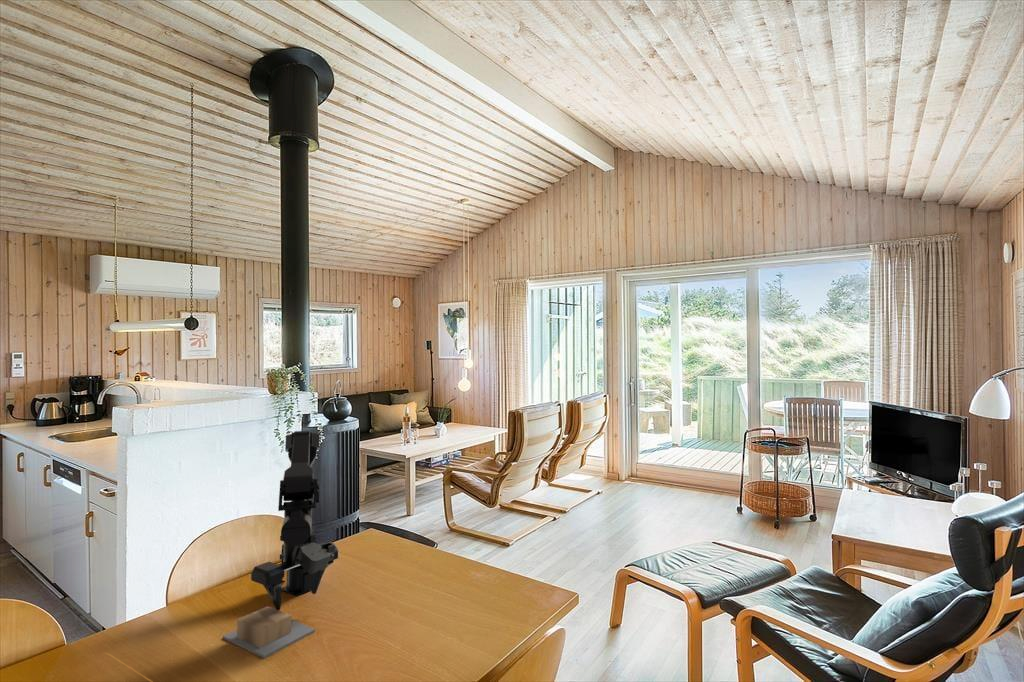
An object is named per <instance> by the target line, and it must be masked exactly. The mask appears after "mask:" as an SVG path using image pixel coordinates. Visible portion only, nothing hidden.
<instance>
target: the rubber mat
mask: <svg viewBox="0 0 1024 682" xmlns="http://www.w3.org/2000/svg"><path fill="white" fill-rule="evenodd" d="M315 632H316V628H313V627H310V626H308V625H306V624H303V623H301V622H298V621H296V620H294V619H291V632H290V633H289V634H287V635H286V636H284V637H282V638H280V639H278V640H276V641H274V642H272V643H270V644H268V645H266V646H264V647H262V648H260V647H258V646H255V645H253V644H251V643H249V642H247V641H245V640H243V639H241V638H238V637H237V629H235V630H233V631H231V632H228V633H226V634H224V635H222V639H224V640H225V641H227V642H229V643H232V644H233V645H236V646H238V647H239V648H242V649H244V650H246V651H248V652H250V653H252V654H254V655H256V656H258V657H260V658H262V659H266V658H268V657H270V656H272V655H274V654H275V653H277V652H279V651H281V650H283V649H285V648H286V647H289V646H290V645H292V644H294V643H296V642H298V641H300V640H302V639H304V638H306V637H308V636H309V635H312V634H314V633H315Z"/></svg>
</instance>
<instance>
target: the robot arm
mask: <svg viewBox="0 0 1024 682" xmlns="http://www.w3.org/2000/svg"><path fill="white" fill-rule="evenodd" d="M320 439H321V437H320V434H318V433H314V432H313V431H310V430H295V431H293V432H291V434H287V435H286V436H285V445H284V447H285V448H284V451H285V453H288V454H287V456H288V459H289V462H290V466H289V467H288V468H286V469H285V470H284V474H283V479H281V480H279V481H280V482H279V492H278V493H279V495H278V512H280V511H281V512H283V511H284V513H283V514H284V515H283V516H284V517H283V518H284V519H283V521H282V525H281V530H280V536H279V541H280V542H283V543H282V545H281V553H280V554H279V560H280V561H281V562H280V563H278V564H277V563H274V562H271V561H267V562H264V563H261V564H259V565H256V566H254V567H253V569H252V570H251V573H250V575H251V576H250V580H251V581H252V582H255V583H257V584H260V585H262V586H263V588H264V589H265V591H266V592H267V594H268V596H269V598H270V600H271V602H272V604H273V608H274V609H276V610H279V611H281V606H282V592H284V593H287V594H290V595H291V596H295V597H298V596H301V595H303V594H305V593H308V592H311V594H313V595H315V594H317V591H318V588H319V586H320V583H321V581H322V577H323V576H324V573H325V570H327V568H328V567H329V566H330V565H332V564H333V563H334V560H337V559H339V549H338V547H337V545H335V543H334V542H333V541H328V542H321V543H319V542H318V541H319V540H317V537H316V534H315V533H314V530H313V529H312V528H313V527H312V521H313V520H312V518H313V517H312V513H313V511H312V510H313V509H316V508H317V503H320V482H319V479H318V478H317V477H314V476H315V475H314V471H315V470H314V468H313V467H312V466H313V464H314V462H315V460H316V459H317V457H318V456H317V453H318V451H320V442H321V441H320ZM312 499H313V500H312ZM285 573H286V580H284V577H285ZM285 582H286V585H284V584H285Z"/></svg>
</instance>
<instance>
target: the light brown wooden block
mask: <svg viewBox="0 0 1024 682" xmlns="http://www.w3.org/2000/svg"><path fill="white" fill-rule="evenodd" d="M236 620H237V621H236V624H237V625H236V627H237V628H236V630H237V637H238V638H241V639H243V640H245V641H247V642H249V643H251V644H253V645H255V646H258V647H260V648H262V647H264V646H266V645H268V644H270V643H272V642H274V641H276V640H278V639H280V638H282V637H284V636H286V635H287V634H289V633H290V632H291V620H292V615H291V614H290V613H286V612H284V611H281V610H276V609H275V607H271V606H268V605H267V606H265V607H262V608H260V609H258V610H256V611H253V612H251V613H249V614H246V615H244V616H242V617H239V618H238V619H236Z"/></svg>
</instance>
